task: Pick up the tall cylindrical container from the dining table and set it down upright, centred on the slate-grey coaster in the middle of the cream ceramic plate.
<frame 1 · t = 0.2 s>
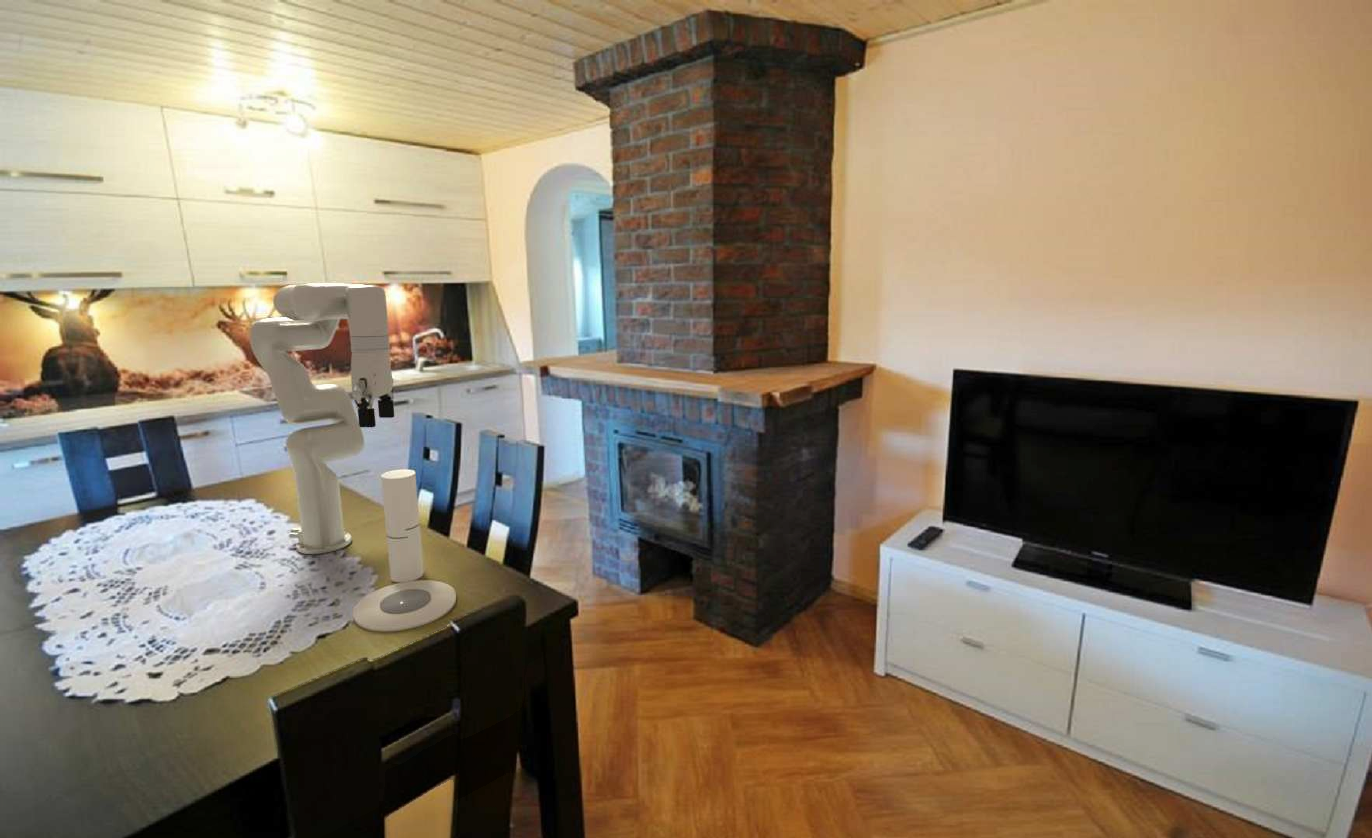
hand: (377, 422, 136), 38 cm above the table, tool pointing down, fingers open, 9 cm apart
plate: (406, 606, 132), on the table
cylindrical container: (407, 576, 147), on the table
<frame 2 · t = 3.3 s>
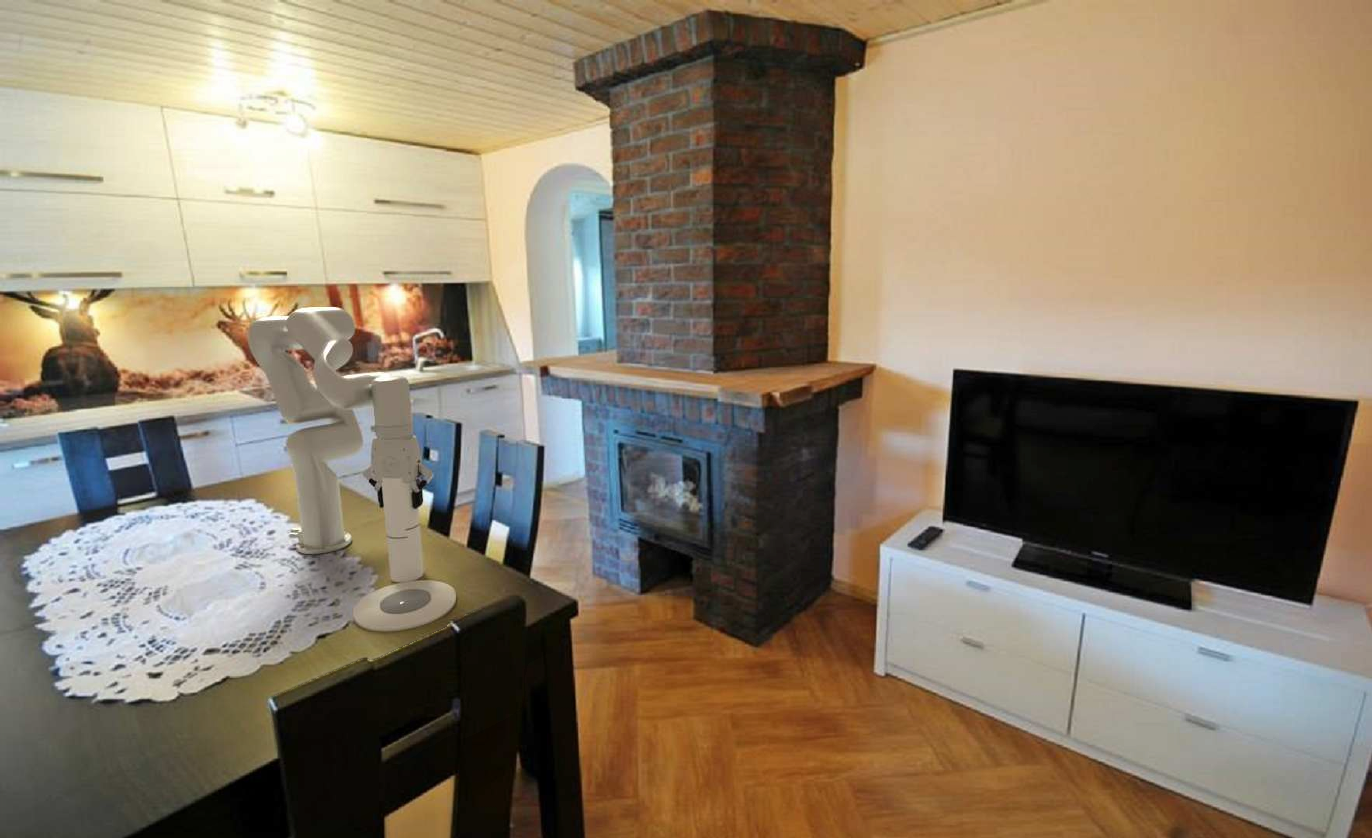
hand: (401, 505, 143), 17 cm above the table, tool pointing down, fingers closed on cylindrical container, 7 cm apart
cylindrical container: (407, 576, 146), on the table, touching gripper
when the fingers open (20 cm above the table, at t = 10.5 s): cylindrical container drops 1 cm, resting on plate.
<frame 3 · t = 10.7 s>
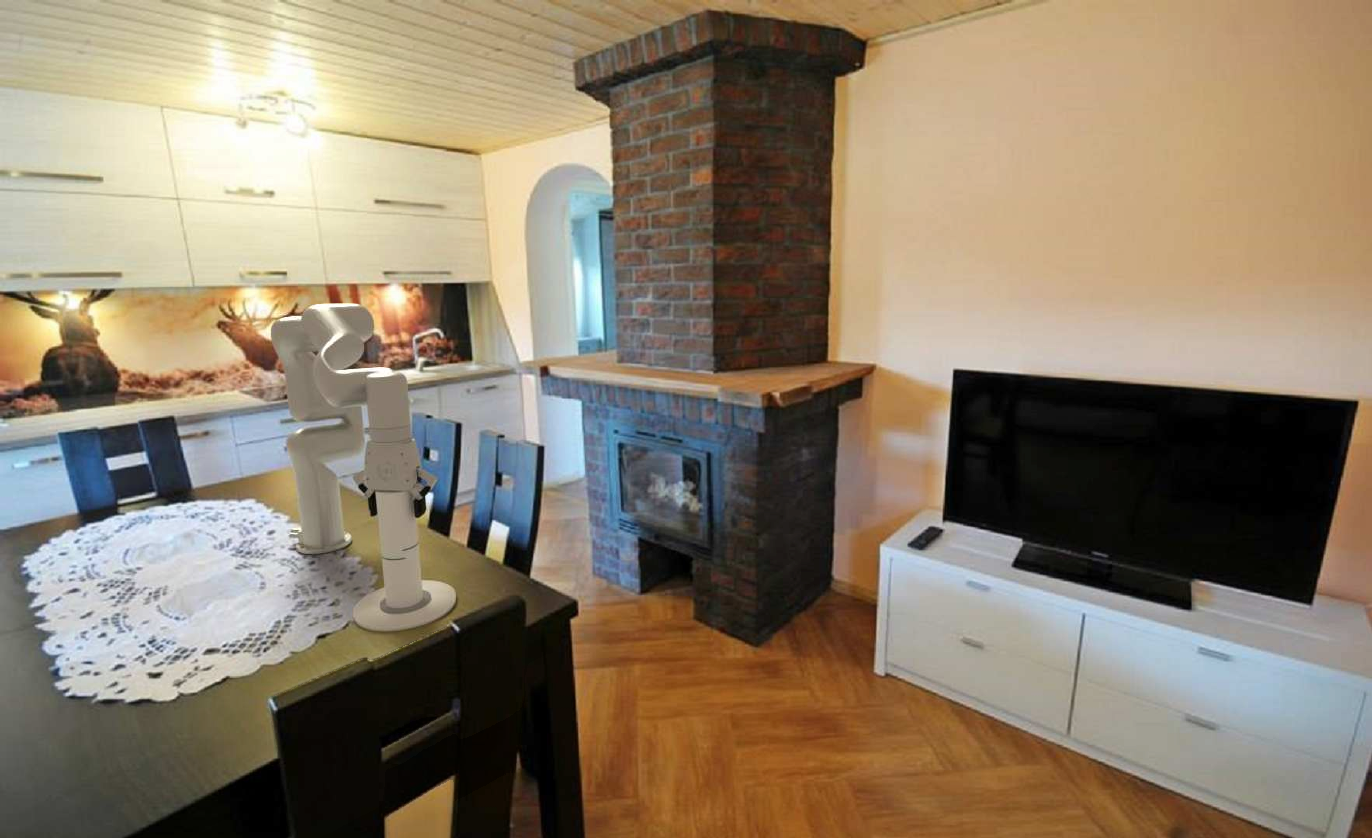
hand: (398, 514, 128), 21 cm above the table, tool pointing down, fingers open, 9 cm apart
cylindrical container: (404, 600, 132), point 1 cm above the table, touching plate
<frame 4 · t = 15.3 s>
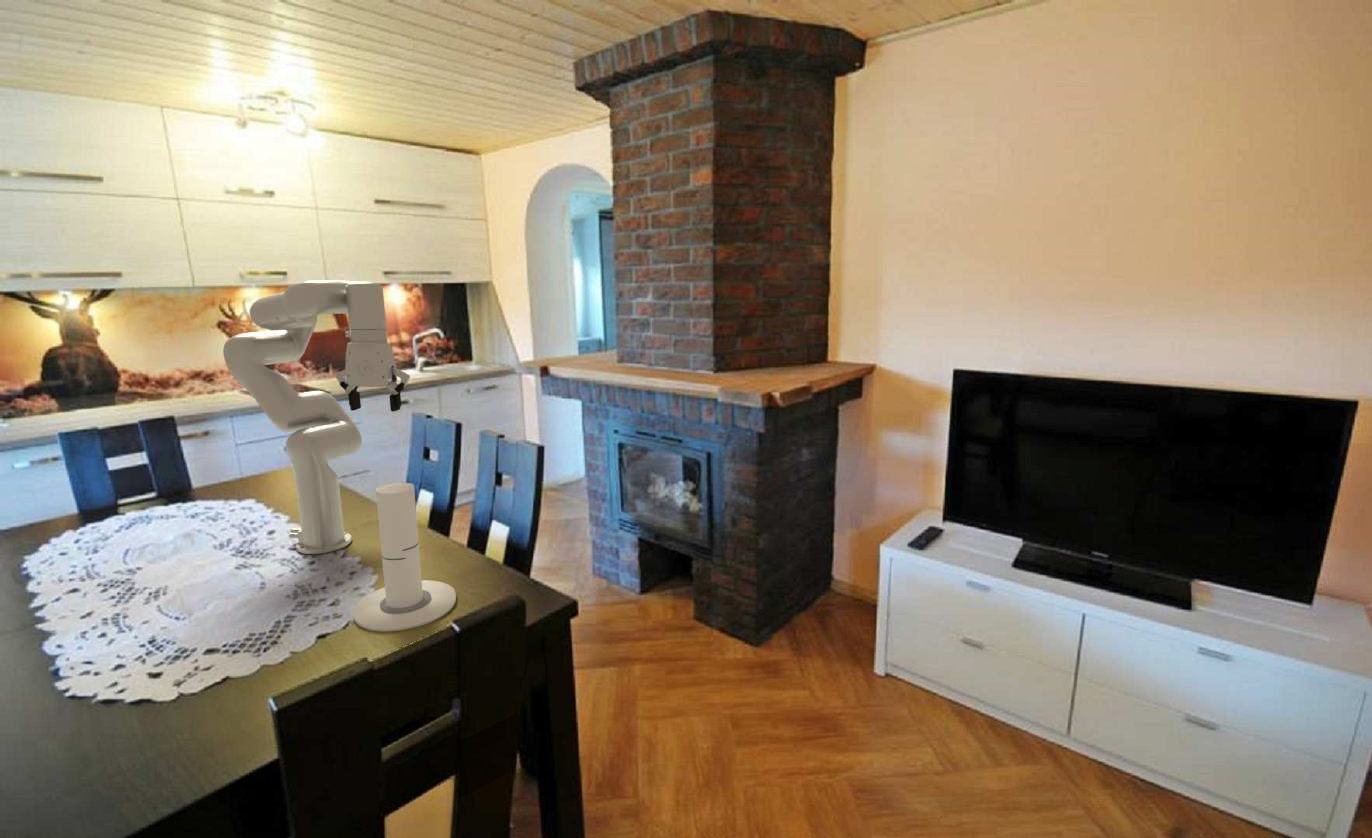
hand: (375, 409, 146), 38 cm above the table, tool pointing down, fingers open, 9 cm apart
nothing on the table moved.
at the end: cylindrical container 0.3 cm off-centre on the plate, point 1.2 cm above the plate's base; cylindrical container tilted 0°; the gripper is holding nothing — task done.
